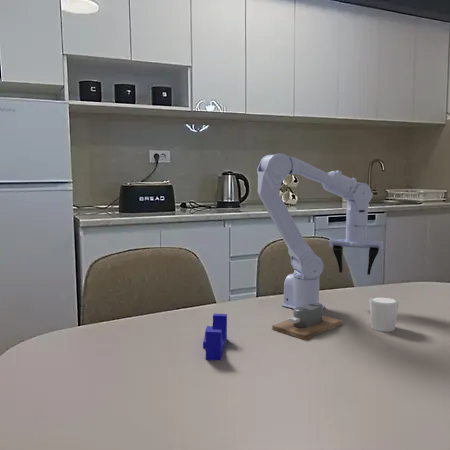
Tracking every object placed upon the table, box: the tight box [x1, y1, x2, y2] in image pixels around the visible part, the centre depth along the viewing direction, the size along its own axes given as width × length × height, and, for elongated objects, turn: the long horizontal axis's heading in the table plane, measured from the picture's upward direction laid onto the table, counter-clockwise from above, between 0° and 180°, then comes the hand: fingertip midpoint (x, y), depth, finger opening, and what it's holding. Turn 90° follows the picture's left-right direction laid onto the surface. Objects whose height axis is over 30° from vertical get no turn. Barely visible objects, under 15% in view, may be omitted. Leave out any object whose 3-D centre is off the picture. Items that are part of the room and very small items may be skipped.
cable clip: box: [202, 313, 228, 361], centre depth 99 cm, size 12×4×6 cm, turn 174°
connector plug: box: [288, 302, 324, 328], centre depth 112 cm, size 4×11×4 cm, turn 134°
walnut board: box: [271, 314, 343, 341], centre depth 113 cm, size 10×16×1 cm, turn 134°
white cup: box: [368, 296, 399, 333], centre depth 113 cm, size 7×7×7 cm
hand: (354, 272), depth 131 cm, fingers open, 7 cm apart
